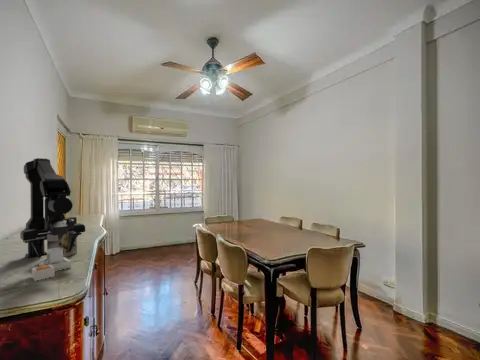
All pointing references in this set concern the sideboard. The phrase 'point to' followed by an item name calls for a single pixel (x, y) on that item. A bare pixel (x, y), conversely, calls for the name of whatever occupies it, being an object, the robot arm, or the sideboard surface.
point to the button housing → (43, 273)
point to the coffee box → (62, 241)
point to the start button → (42, 267)
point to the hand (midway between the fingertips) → (55, 254)
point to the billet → (54, 256)
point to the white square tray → (58, 264)
